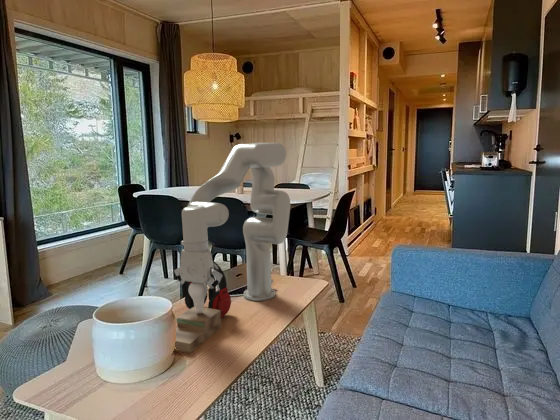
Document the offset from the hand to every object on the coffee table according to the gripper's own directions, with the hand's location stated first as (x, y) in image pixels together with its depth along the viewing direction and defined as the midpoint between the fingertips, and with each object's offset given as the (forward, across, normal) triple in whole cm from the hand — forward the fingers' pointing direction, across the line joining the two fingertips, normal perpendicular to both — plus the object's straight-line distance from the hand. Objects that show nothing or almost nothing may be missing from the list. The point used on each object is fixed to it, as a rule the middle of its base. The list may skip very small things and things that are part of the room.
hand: (199, 297), depth 131 cm
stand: (+12, 0, -5) cm, 12 cm away
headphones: (+12, -5, +12) cm, 18 cm away
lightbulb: (+6, 0, 0) cm, 6 cm away
